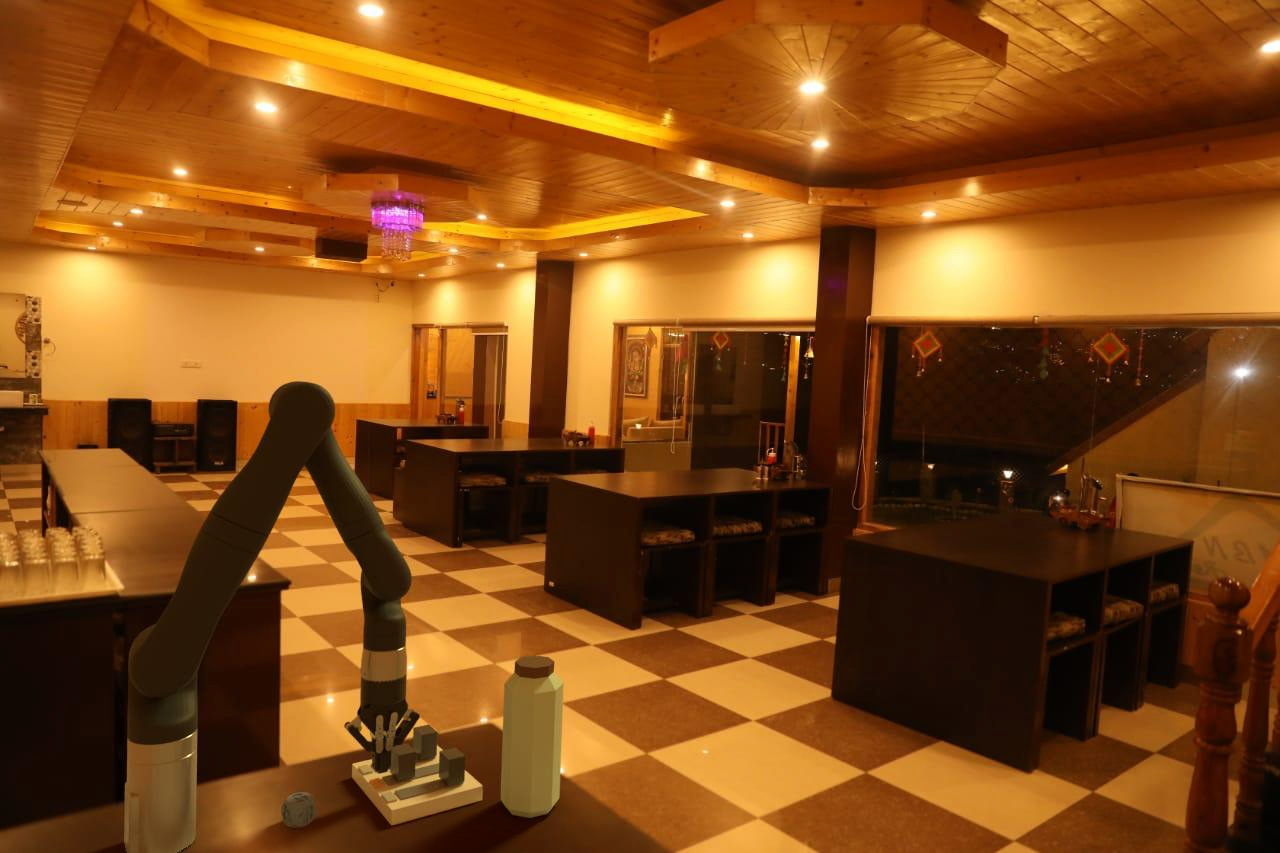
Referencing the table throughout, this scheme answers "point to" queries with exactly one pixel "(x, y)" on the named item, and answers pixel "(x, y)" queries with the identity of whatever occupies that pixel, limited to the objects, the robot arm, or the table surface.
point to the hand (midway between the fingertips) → (381, 771)
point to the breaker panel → (414, 790)
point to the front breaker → (451, 766)
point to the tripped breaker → (403, 762)
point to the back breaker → (425, 741)
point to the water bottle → (532, 737)
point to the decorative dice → (299, 810)
